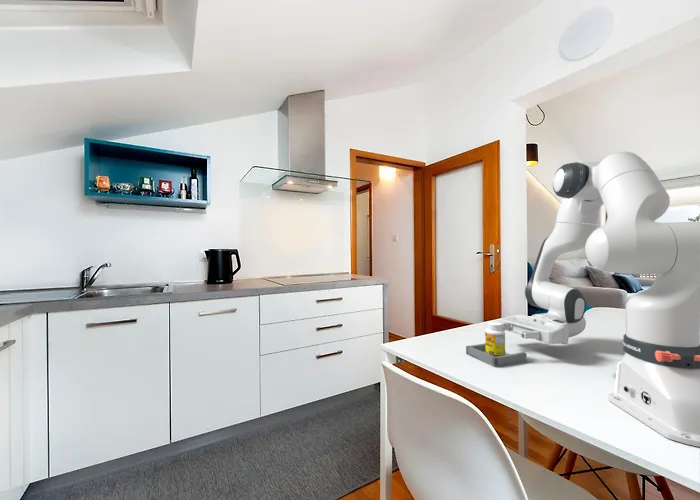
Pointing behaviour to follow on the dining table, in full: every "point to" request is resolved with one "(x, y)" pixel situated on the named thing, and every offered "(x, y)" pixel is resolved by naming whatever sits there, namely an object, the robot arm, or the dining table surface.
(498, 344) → the supplement bottle
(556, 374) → the dining table surface
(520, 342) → the dining table surface
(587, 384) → the dining table surface
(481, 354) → the tray
